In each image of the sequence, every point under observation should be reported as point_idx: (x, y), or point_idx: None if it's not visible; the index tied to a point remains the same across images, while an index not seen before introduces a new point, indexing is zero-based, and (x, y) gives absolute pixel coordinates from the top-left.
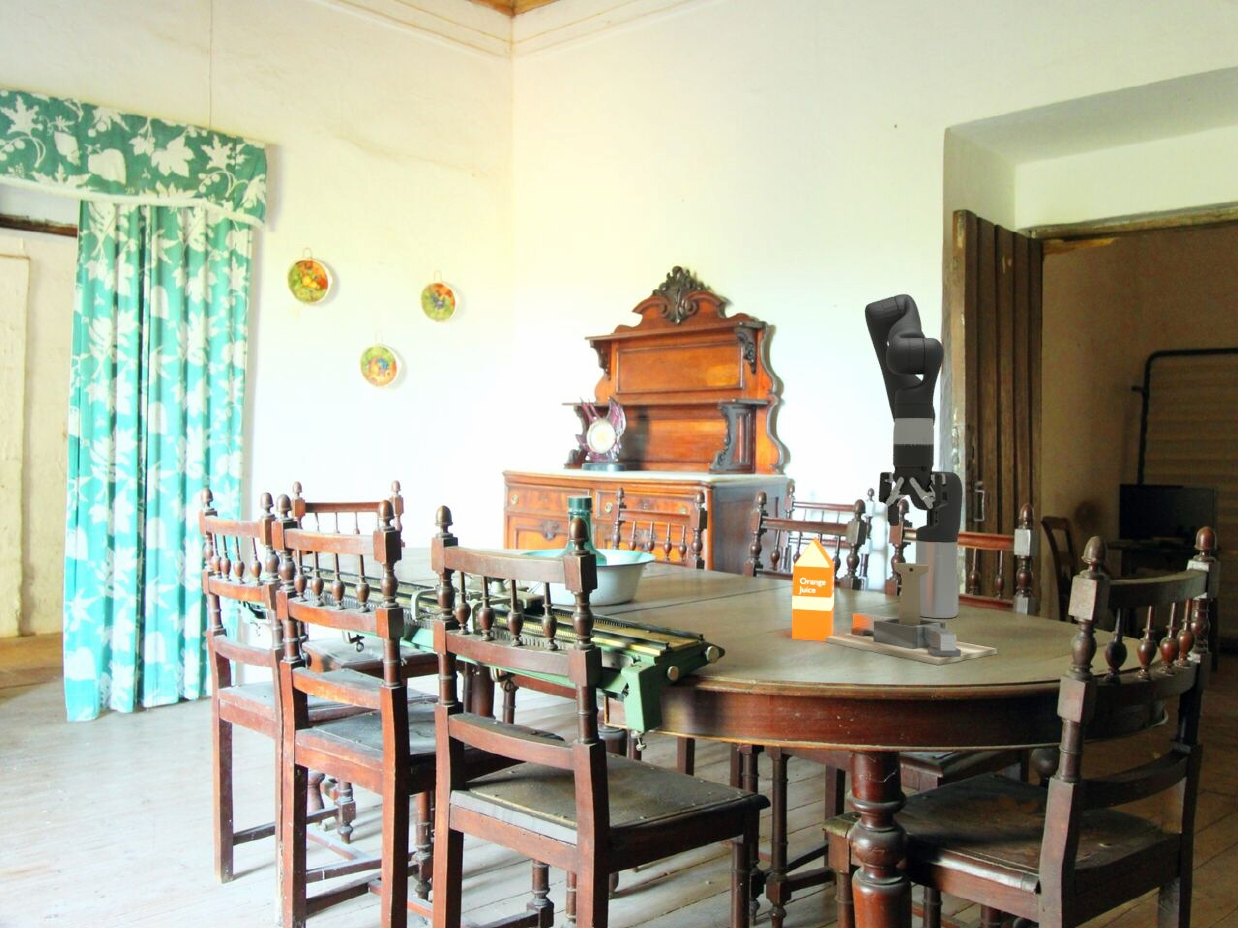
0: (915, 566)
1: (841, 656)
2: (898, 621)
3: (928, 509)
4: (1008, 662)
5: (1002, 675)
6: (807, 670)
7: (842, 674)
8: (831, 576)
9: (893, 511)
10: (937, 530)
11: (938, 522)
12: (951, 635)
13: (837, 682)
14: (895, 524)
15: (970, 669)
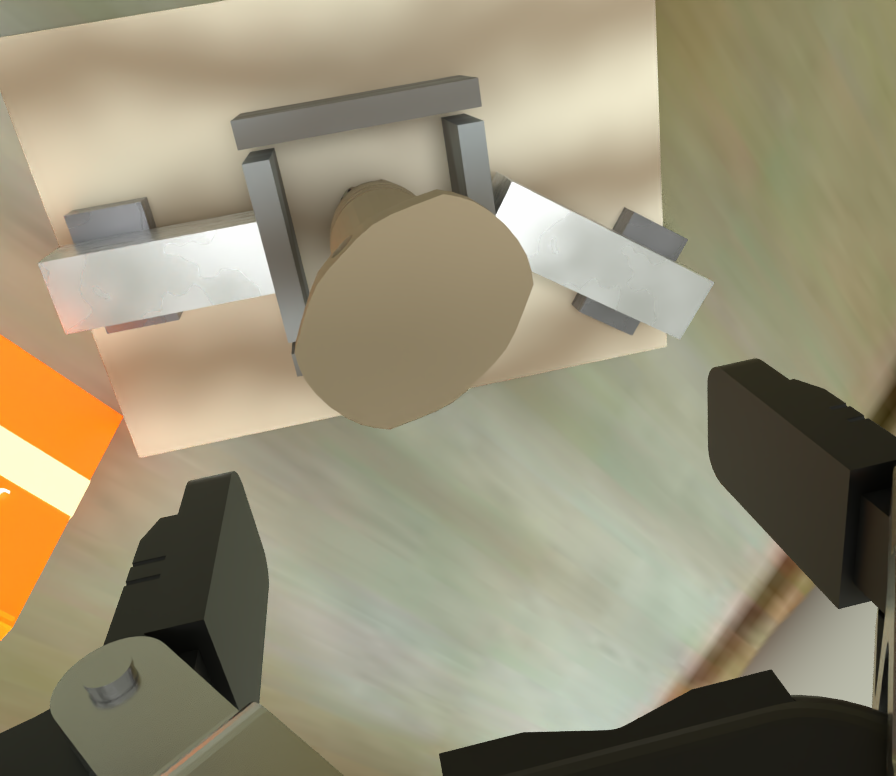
0: (499, 355)
1: (402, 538)
2: (285, 218)
3: (862, 598)
4: (768, 47)
5: (865, 258)
6: (517, 708)
7: (598, 657)
8: (10, 575)
9: (254, 678)
10: None
11: (829, 394)
12: (702, 300)
13: (655, 706)
14: (252, 527)
15: (756, 287)
